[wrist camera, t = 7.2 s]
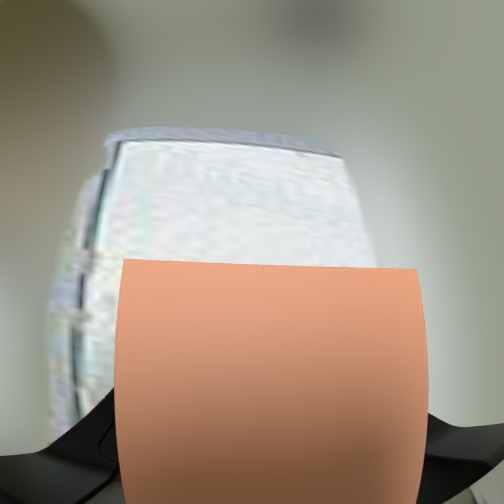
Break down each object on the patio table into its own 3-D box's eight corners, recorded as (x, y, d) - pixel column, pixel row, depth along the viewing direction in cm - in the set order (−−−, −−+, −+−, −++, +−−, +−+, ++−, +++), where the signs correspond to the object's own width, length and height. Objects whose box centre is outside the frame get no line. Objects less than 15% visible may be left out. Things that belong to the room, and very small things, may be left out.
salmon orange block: (269, 411, 14) (414, 509, 2) (191, 412, 13) (136, 547, 2) (268, 339, 15) (416, 268, 4) (191, 337, 15) (123, 258, 3)
